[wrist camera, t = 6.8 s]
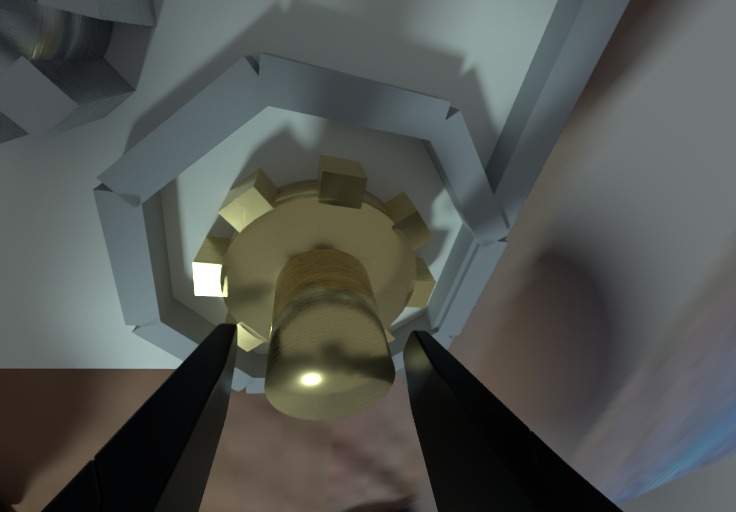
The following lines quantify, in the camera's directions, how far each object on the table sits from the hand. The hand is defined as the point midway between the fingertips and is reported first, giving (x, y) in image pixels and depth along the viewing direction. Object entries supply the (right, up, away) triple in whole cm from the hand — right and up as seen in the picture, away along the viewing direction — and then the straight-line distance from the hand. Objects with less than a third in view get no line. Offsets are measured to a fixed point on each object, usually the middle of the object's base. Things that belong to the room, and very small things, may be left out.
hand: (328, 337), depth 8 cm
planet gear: (-1, +2, +3) cm, 4 cm away
